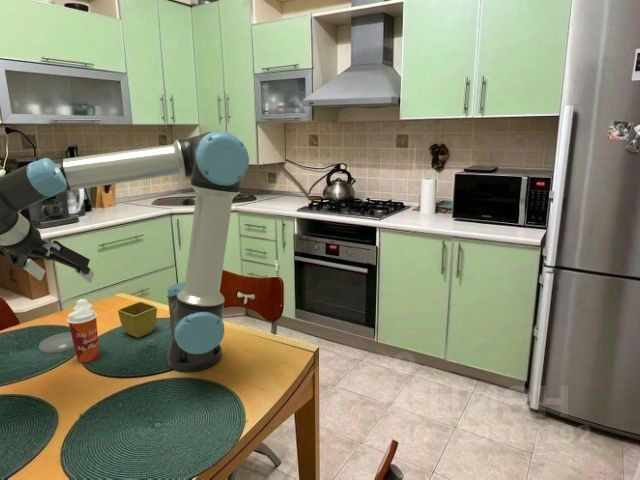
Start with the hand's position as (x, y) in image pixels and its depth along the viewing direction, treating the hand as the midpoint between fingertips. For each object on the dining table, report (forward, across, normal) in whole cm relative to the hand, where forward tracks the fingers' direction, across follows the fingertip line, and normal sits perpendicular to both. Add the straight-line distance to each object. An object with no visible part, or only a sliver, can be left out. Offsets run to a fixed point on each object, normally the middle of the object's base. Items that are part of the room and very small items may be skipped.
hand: (66, 276), depth 116 cm
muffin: (+44, -21, +5) cm, 49 cm away
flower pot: (+36, +6, -2) cm, 37 cm away
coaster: (+30, -15, -9) cm, 35 cm away
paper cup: (+25, -2, -14) cm, 29 cm away
